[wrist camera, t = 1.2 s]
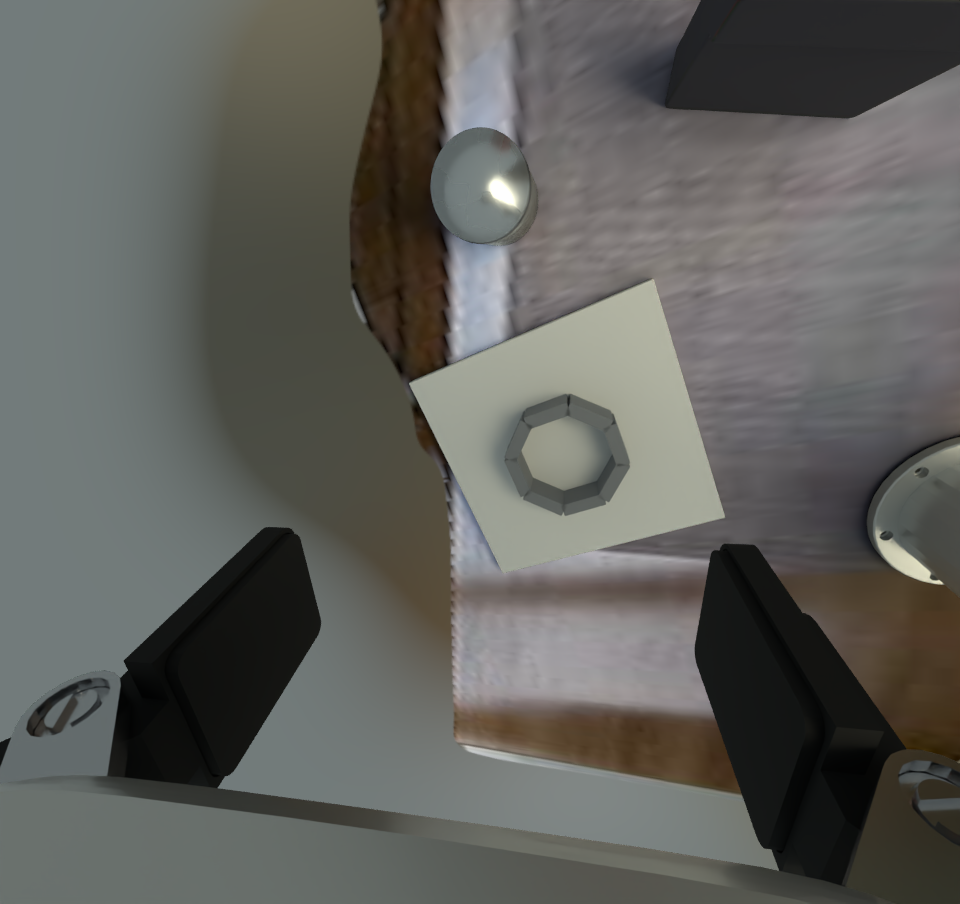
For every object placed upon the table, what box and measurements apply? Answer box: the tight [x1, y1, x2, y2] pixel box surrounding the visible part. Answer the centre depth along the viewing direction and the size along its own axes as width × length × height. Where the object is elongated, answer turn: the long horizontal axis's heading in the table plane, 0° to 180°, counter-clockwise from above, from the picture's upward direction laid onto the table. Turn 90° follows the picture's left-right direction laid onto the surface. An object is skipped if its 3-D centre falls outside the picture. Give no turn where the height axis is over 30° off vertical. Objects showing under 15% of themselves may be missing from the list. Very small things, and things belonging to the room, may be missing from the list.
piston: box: [431, 128, 538, 246], centre depth 29 cm, size 6×6×8 cm
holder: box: [409, 279, 725, 573], centre depth 37 cm, size 20×20×4 cm
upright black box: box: [665, 0, 960, 118], centre depth 20 cm, size 11×4×15 cm, turn 85°
